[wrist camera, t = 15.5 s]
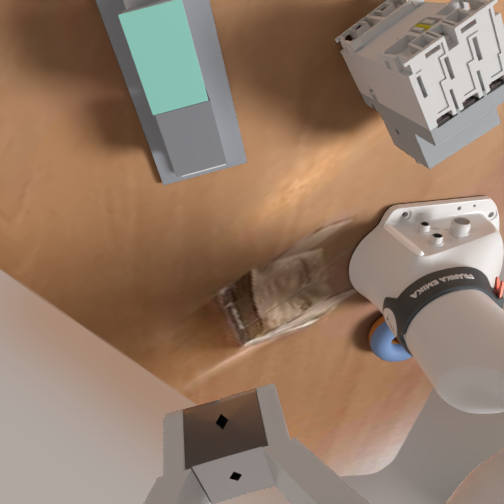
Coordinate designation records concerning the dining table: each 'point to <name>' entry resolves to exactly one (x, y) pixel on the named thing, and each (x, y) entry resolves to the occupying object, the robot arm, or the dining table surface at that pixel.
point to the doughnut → (386, 342)
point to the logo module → (164, 54)
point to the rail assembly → (187, 118)
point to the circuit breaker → (430, 72)
